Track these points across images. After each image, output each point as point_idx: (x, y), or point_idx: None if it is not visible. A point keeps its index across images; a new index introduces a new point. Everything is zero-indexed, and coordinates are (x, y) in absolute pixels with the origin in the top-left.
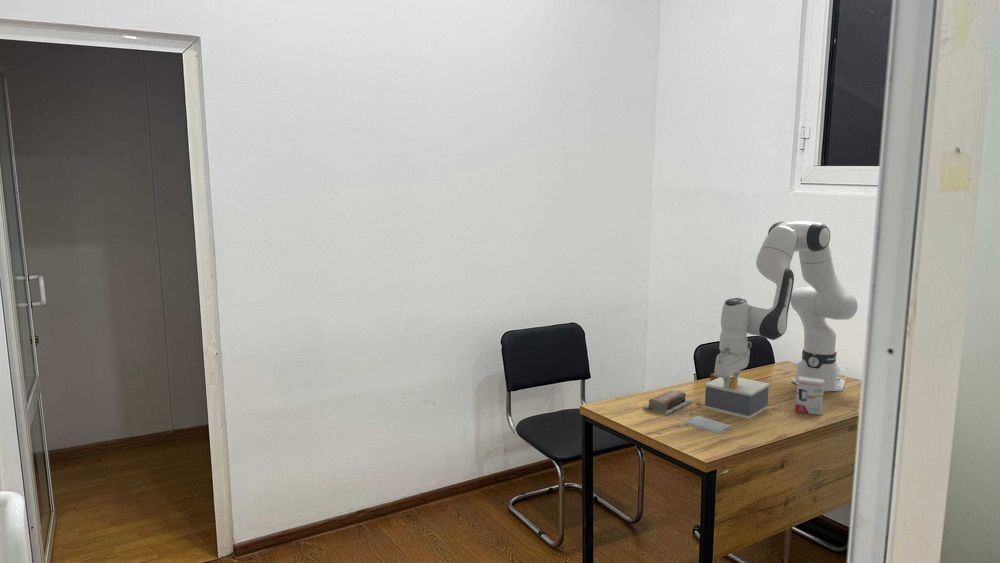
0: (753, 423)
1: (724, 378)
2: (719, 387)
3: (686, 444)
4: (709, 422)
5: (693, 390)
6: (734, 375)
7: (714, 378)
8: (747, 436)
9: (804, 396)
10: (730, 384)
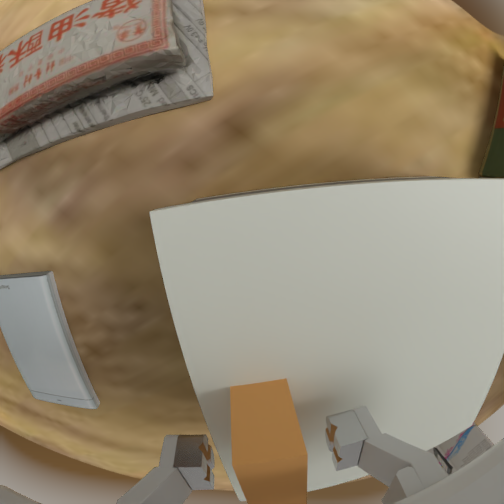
0: (207, 428)
1: (134, 500)
2: (189, 367)
3: None
4: (39, 350)
5: (407, 22)
6: (379, 462)
7: None
8: (97, 444)
9: (440, 460)
10: (212, 468)
